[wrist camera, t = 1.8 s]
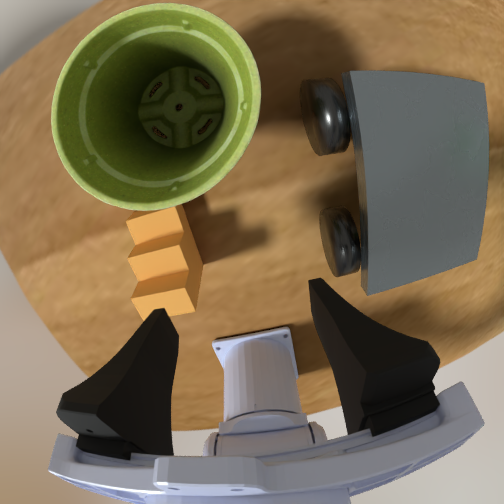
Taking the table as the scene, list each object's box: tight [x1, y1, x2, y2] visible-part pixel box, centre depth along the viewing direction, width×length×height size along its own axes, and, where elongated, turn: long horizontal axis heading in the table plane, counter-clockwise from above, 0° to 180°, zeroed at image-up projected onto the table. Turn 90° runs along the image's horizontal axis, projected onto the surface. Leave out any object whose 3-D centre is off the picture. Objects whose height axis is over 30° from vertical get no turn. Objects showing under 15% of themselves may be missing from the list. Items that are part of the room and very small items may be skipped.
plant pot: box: [51, 3, 261, 211], centre depth 13 cm, size 9×9×9 cm
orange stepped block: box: [126, 204, 203, 320], centre depth 19 cm, size 6×4×6 cm, turn 13°
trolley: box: [300, 71, 489, 296], centre depth 16 cm, size 14×14×6 cm
